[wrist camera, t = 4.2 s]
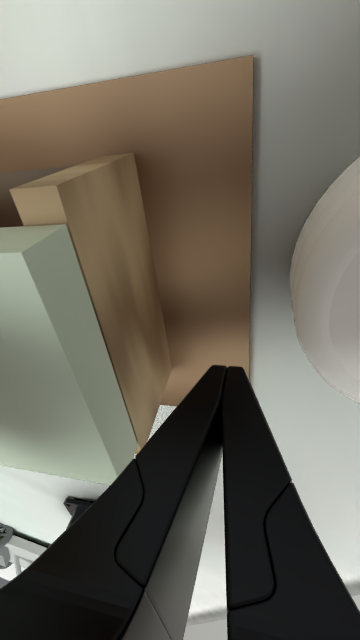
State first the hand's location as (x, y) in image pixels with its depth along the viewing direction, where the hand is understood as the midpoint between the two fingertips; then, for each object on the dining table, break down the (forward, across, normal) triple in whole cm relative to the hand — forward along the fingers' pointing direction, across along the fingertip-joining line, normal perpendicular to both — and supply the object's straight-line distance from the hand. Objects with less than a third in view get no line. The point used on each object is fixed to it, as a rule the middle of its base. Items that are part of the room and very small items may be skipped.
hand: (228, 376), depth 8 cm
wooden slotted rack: (+6, +14, 0) cm, 15 cm away
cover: (0, +9, 0) cm, 9 cm away
